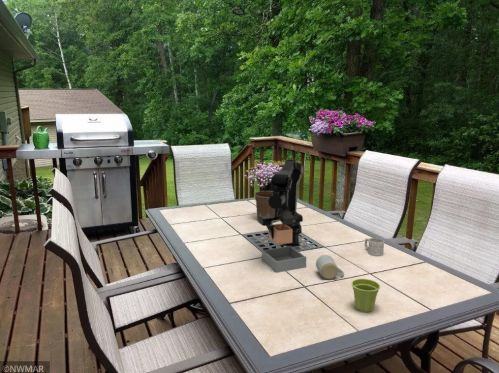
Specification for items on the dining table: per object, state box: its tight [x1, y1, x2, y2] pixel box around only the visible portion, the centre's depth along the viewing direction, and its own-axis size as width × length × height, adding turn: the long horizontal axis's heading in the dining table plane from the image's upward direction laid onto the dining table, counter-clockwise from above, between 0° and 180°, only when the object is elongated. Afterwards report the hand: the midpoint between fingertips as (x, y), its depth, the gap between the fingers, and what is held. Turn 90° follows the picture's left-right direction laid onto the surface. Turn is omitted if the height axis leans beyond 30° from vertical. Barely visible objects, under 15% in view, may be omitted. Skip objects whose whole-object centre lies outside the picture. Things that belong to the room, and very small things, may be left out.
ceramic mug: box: [315, 254, 345, 280], centre depth 160 cm, size 11×8×8 cm
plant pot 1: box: [254, 190, 275, 224], centre depth 233 cm, size 16×16×16 cm
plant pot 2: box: [351, 278, 381, 313], centre depth 134 cm, size 9×9×9 cm
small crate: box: [268, 223, 293, 246], centre depth 171 cm, size 7×9×6 cm
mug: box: [364, 237, 385, 257], centre depth 184 cm, size 10×7×7 cm, turn 31°
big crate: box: [261, 245, 307, 274], centre depth 172 cm, size 14×14×5 cm
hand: (280, 238), depth 171 cm, fingers closed on small crate, 7 cm apart
